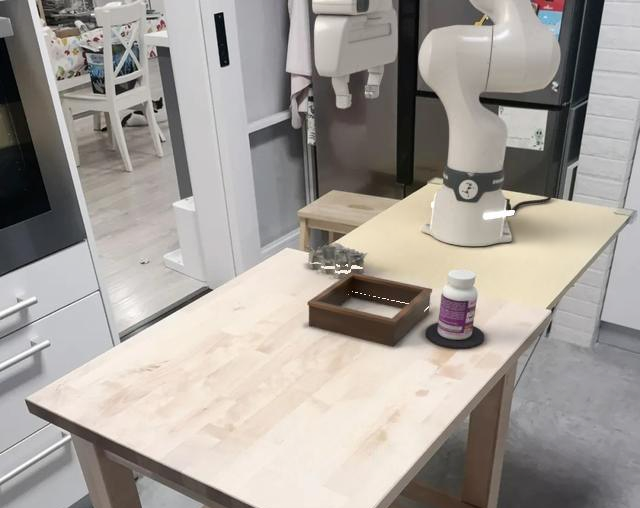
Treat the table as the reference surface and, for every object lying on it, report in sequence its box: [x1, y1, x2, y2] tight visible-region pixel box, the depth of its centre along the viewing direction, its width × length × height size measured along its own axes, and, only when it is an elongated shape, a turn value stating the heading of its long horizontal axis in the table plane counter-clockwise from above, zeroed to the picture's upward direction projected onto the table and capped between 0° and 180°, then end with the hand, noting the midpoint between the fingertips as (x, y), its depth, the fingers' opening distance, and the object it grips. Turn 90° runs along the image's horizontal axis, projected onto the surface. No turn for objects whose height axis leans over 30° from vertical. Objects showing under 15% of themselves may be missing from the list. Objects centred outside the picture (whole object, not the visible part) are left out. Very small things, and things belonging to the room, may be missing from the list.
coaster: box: [425, 322, 485, 350], centre depth 111 cm, size 9×9×1 cm
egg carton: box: [304, 242, 369, 280], centre depth 133 cm, size 11×8×4 cm
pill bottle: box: [437, 269, 479, 340], centre depth 108 cm, size 5×5×10 cm
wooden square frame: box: [307, 272, 433, 347], centre depth 115 cm, size 15×15×4 cm
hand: (358, 102), depth 108 cm, fingers open, 8 cm apart
